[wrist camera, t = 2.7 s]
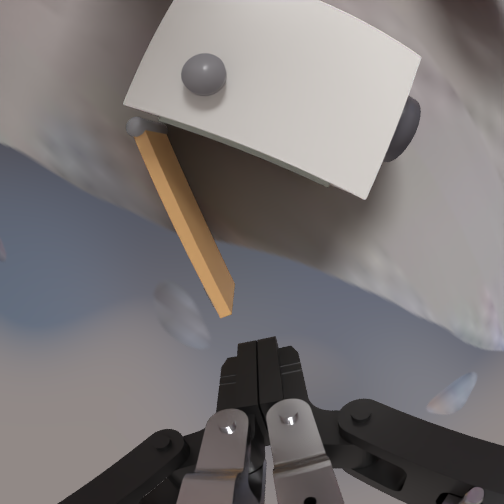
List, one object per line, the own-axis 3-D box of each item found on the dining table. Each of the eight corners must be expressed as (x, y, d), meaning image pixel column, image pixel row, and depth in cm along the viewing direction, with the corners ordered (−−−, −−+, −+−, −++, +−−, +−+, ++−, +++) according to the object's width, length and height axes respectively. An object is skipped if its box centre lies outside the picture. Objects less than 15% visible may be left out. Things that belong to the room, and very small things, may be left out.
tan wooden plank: (164, 120, 20) (140, 113, 15) (237, 282, 24) (234, 314, 19) (145, 130, 20) (117, 126, 16) (219, 288, 25) (212, 322, 20)
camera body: (212, 18, 18) (194, -43, 9) (389, 93, 19) (453, 72, 11) (163, 122, 20) (114, 107, 12) (346, 196, 22) (397, 223, 14)
